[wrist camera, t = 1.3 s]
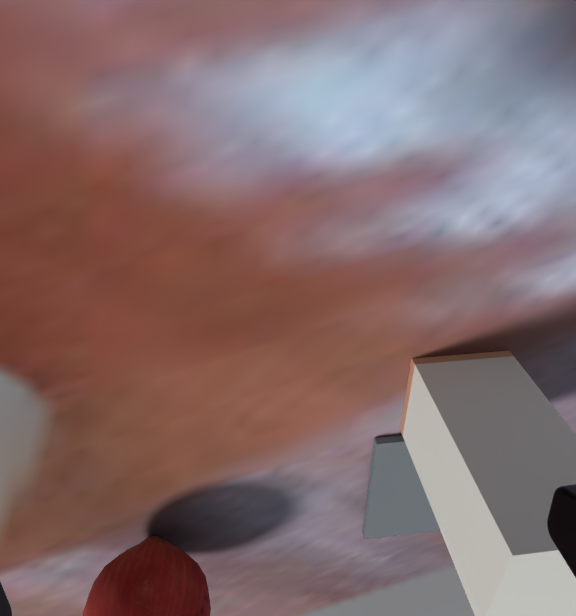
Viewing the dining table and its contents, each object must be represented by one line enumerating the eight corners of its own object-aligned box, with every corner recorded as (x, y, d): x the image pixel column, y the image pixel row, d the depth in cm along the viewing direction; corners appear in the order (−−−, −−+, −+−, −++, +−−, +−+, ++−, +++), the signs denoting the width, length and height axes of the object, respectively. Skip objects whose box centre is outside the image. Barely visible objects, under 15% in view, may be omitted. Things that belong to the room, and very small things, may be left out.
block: (411, 358, 22) (513, 555, 14) (509, 350, 22) (656, 538, 15) (400, 429, 24) (480, 629, 17) (487, 421, 25) (604, 612, 17)
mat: (374, 438, 24) (376, 444, 24) (510, 424, 25) (514, 430, 25) (362, 532, 29) (364, 539, 28) (478, 519, 29) (481, 525, 29)
